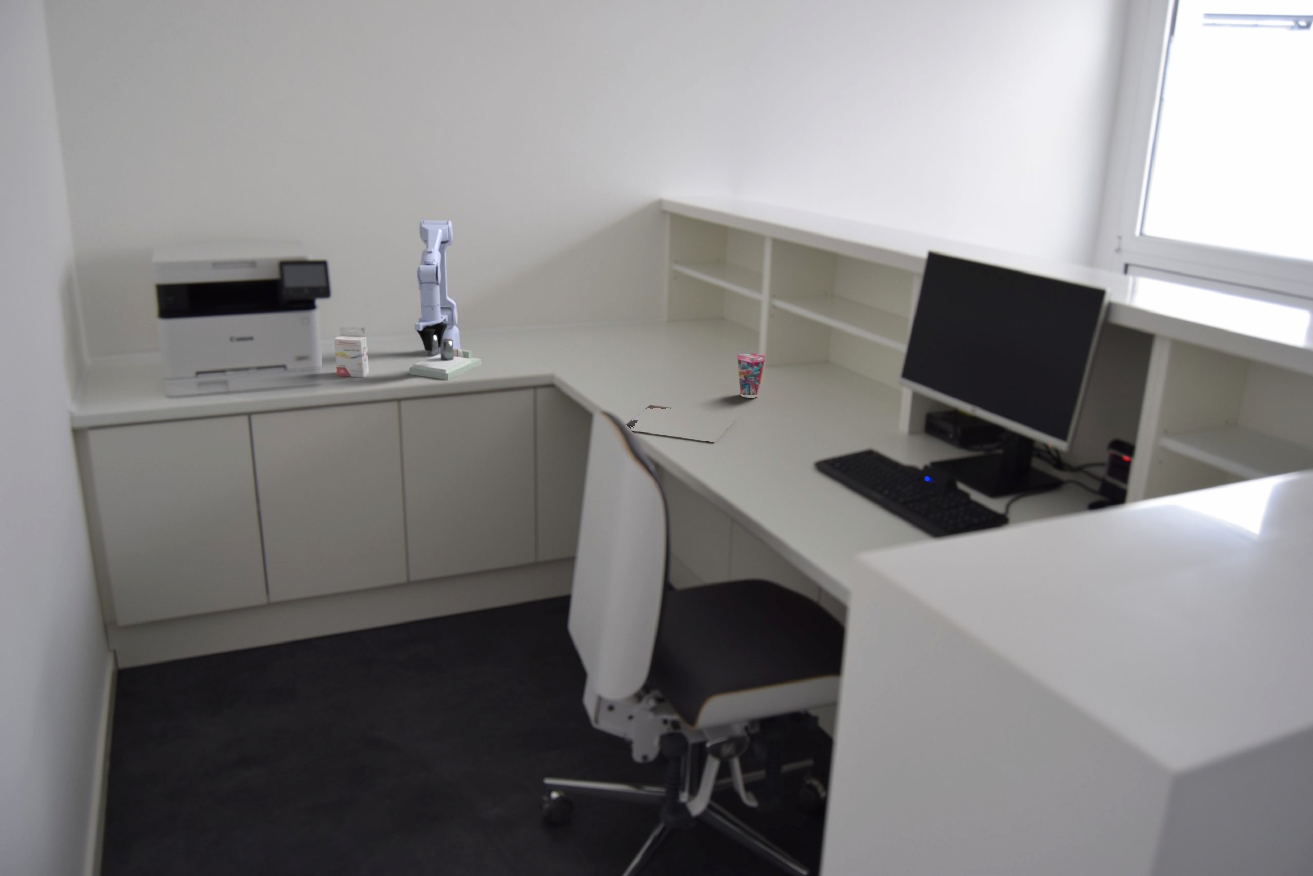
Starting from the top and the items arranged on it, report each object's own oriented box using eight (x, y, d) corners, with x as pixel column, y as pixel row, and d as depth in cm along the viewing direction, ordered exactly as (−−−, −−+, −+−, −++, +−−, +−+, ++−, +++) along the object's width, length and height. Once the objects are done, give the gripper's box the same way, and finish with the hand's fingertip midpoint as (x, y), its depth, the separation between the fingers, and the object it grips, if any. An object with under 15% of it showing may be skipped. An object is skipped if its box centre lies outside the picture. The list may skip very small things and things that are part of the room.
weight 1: (430, 352, 308) (428, 333, 306) (441, 352, 307) (439, 333, 305) (423, 355, 305) (421, 335, 303) (434, 355, 303) (432, 336, 301)
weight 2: (443, 356, 316) (443, 338, 314) (455, 357, 315) (454, 339, 313) (438, 360, 313) (437, 341, 311) (450, 361, 312) (449, 342, 310)
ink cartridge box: (336, 376, 304) (332, 328, 299) (342, 371, 309) (338, 325, 304) (363, 377, 303) (360, 330, 298) (369, 373, 308) (366, 326, 303)
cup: (729, 393, 296) (731, 354, 292) (755, 390, 299) (757, 352, 295) (744, 402, 288) (746, 362, 284) (770, 399, 291) (772, 359, 287)
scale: (444, 359, 324) (443, 344, 323) (481, 364, 319) (480, 349, 318) (409, 374, 308) (408, 358, 306) (448, 379, 303) (447, 364, 301)
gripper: (433, 299, 308) (435, 341, 313) (405, 307, 296) (407, 352, 300) (452, 301, 306) (454, 344, 310) (425, 310, 293) (427, 355, 298)
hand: (432, 348), depth 305 cm, fingers closed on weight 1, 4 cm apart
